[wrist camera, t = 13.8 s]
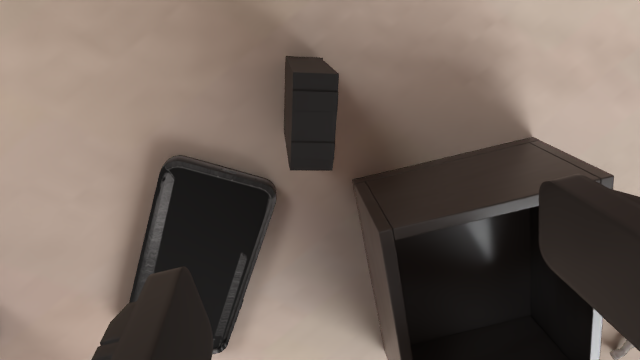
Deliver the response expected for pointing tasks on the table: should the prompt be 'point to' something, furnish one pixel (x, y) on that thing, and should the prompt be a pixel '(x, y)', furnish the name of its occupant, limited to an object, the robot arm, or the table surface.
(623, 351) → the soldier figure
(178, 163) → the phone
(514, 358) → the pen box
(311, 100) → the ink cartridge
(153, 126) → the table surface
